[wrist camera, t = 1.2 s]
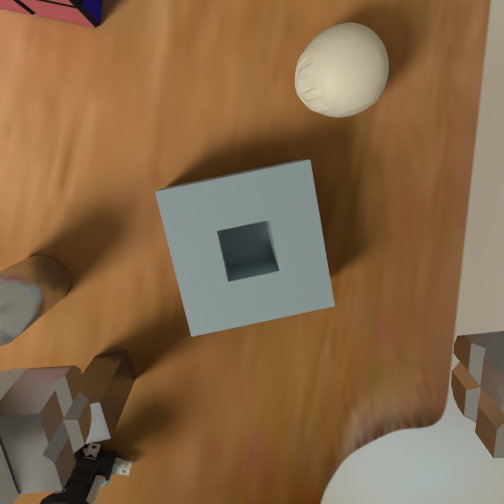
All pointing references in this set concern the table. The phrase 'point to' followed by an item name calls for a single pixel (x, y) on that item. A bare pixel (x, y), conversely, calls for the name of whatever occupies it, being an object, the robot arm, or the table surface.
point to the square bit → (107, 392)
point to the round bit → (29, 293)
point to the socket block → (247, 246)
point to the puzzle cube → (59, 10)
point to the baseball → (342, 70)
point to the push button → (88, 475)
